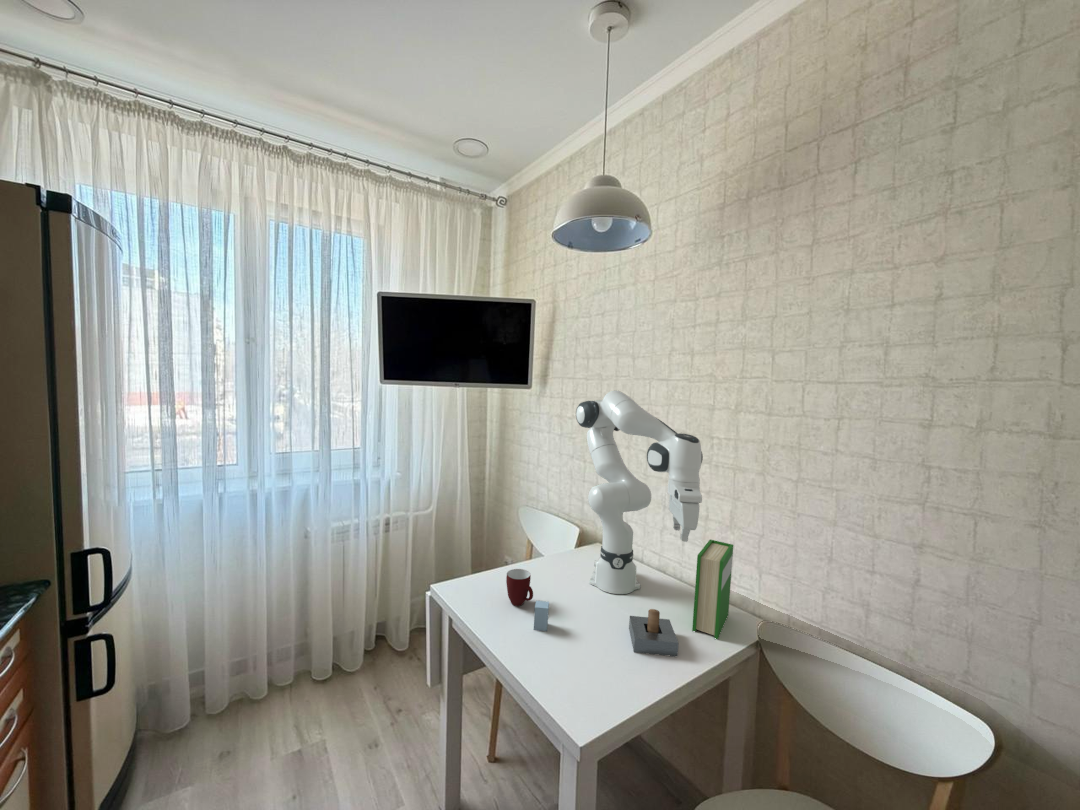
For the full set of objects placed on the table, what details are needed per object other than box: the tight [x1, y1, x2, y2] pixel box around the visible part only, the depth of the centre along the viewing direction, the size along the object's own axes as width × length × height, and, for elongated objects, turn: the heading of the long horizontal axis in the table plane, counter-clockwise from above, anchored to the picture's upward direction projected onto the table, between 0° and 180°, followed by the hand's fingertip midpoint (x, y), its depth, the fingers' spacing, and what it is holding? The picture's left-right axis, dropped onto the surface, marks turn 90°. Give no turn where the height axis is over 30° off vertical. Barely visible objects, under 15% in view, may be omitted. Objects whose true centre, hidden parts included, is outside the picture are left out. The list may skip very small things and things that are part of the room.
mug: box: [505, 568, 534, 607], centre depth 143 cm, size 10×8×10 cm
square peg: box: [533, 600, 550, 632], centre depth 131 cm, size 4×4×7 cm
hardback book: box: [691, 539, 734, 640], centre depth 137 cm, size 18×7×24 cm, turn 147°
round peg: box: [647, 608, 661, 633], centre depth 126 cm, size 3×3×9 cm
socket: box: [628, 615, 679, 657], centre depth 126 cm, size 12×12×4 cm
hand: (680, 535), depth 128 cm, fingers open, 8 cm apart
